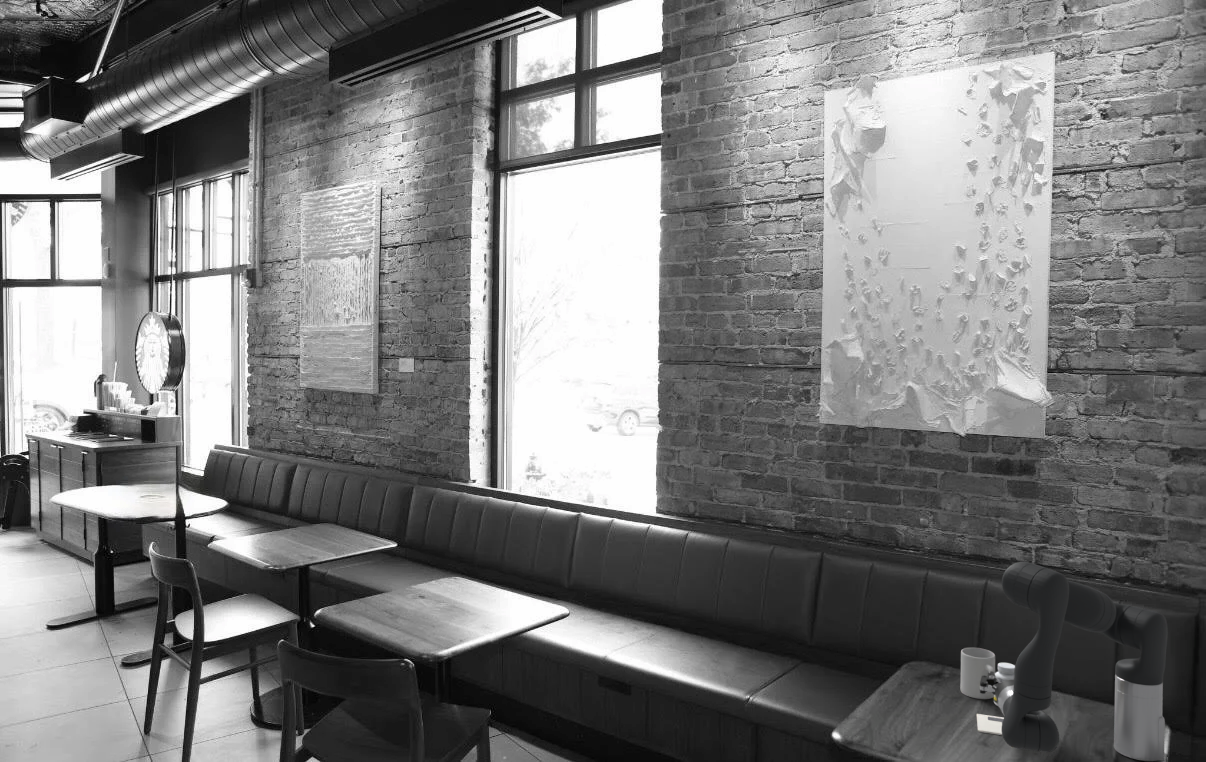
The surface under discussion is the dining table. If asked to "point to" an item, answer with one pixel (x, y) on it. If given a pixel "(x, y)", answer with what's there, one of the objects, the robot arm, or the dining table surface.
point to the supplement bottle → (1004, 674)
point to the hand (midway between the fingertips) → (1004, 676)
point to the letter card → (989, 724)
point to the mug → (975, 671)
